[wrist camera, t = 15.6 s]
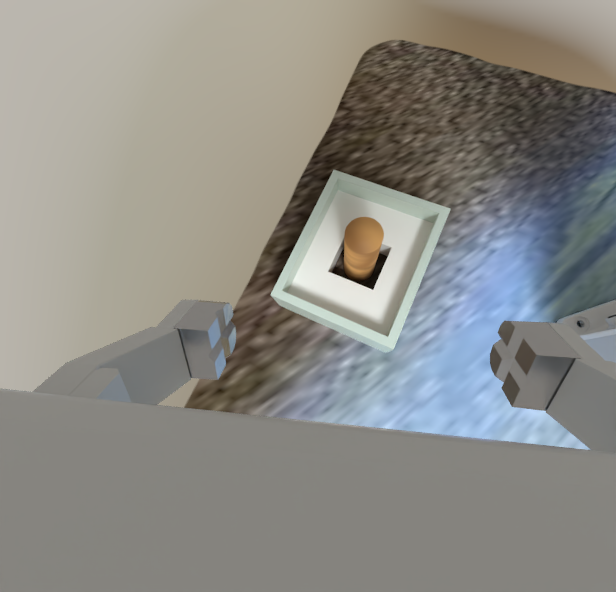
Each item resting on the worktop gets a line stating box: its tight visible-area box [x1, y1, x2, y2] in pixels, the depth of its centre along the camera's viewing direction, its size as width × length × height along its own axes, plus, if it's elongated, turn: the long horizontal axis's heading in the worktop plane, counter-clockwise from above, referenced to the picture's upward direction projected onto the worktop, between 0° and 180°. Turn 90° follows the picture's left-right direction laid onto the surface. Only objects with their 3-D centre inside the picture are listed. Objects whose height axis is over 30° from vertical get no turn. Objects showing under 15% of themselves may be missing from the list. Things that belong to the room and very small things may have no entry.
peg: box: [344, 217, 384, 282], centre depth 37 cm, size 4×4×10 cm
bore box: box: [271, 170, 450, 353], centre depth 39 cm, size 18×15×6 cm
